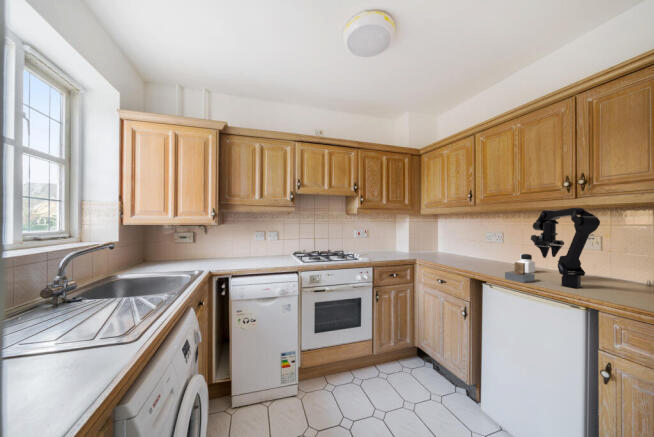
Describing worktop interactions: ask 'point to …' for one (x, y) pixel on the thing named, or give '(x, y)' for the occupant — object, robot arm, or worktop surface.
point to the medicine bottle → (527, 263)
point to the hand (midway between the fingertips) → (549, 257)
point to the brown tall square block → (519, 268)
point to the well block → (520, 277)
